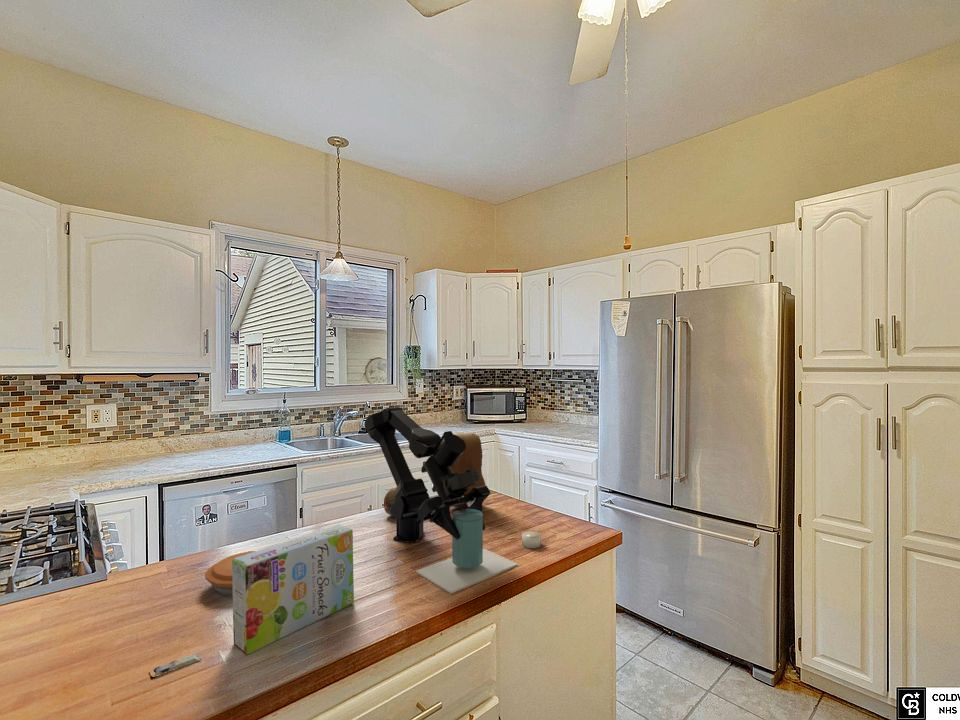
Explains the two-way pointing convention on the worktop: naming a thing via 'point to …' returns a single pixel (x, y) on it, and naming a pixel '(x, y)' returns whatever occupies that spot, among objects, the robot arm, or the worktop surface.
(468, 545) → the teal cover
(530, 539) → the cream bowl
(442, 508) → the robot arm
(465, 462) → the butternut squash
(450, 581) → the grey mat
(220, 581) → the pie
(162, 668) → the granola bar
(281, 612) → the snack box
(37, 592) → the worktop surface
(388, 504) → the tin
